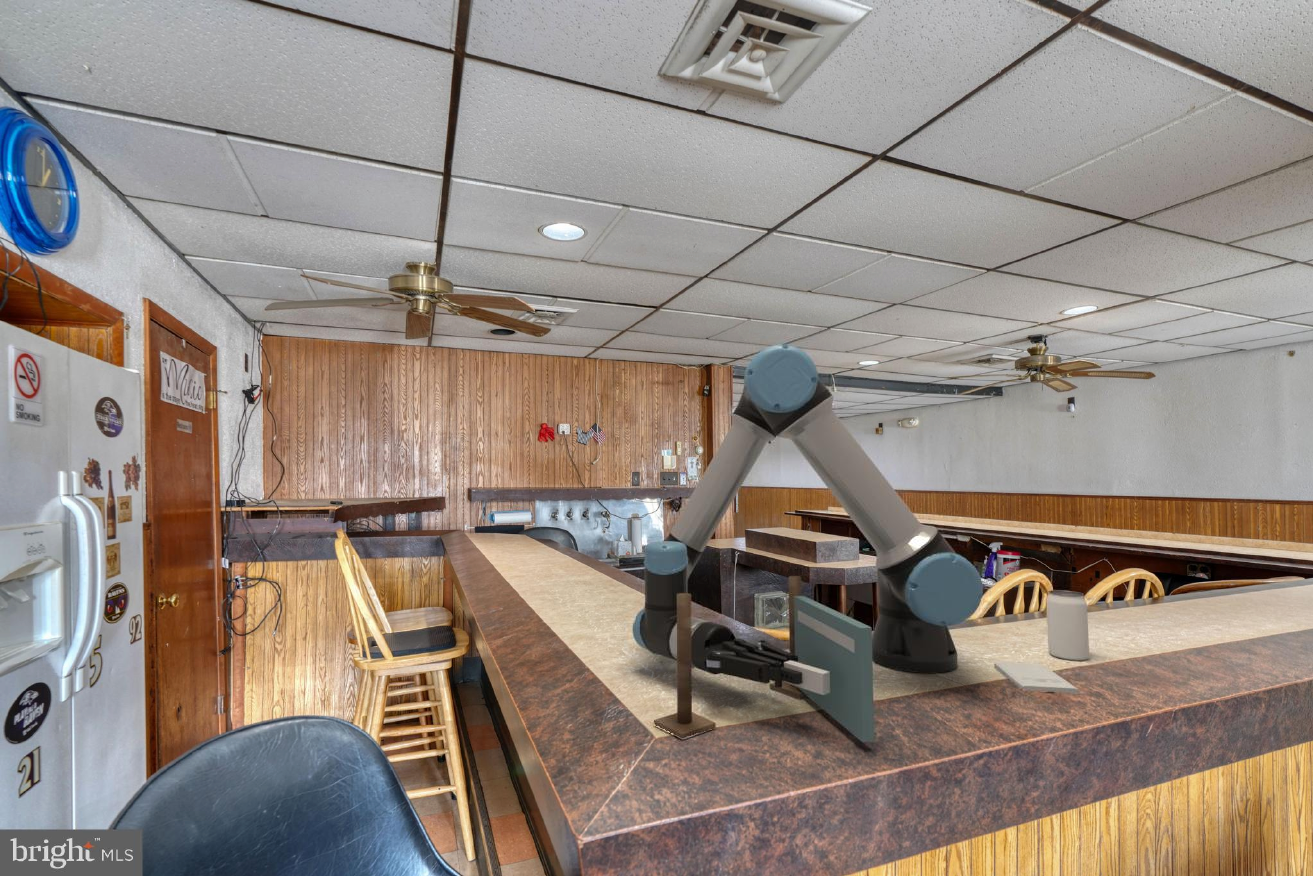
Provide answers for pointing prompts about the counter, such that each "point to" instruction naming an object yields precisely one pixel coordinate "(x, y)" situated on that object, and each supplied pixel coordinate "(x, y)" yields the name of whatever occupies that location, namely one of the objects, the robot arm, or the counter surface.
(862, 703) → the gate door
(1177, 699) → the counter surface
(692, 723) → the gate frame
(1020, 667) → the external hard drive
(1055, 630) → the can
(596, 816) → the counter surface
